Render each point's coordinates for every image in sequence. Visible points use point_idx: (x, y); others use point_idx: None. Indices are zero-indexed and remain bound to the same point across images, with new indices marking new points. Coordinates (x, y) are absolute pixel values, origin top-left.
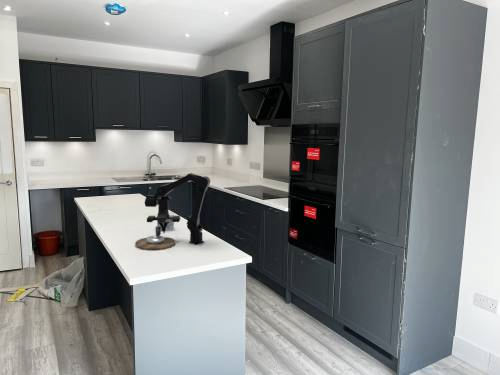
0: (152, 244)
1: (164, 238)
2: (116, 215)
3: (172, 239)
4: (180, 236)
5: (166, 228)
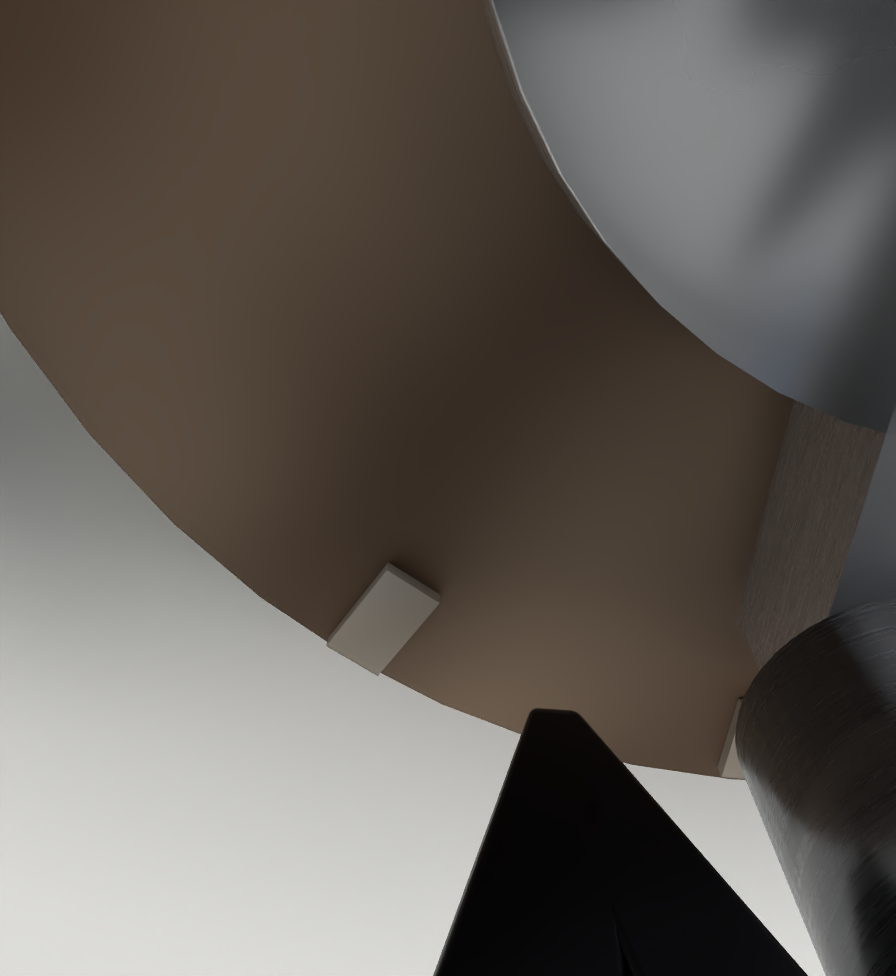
0: None
1: (510, 528)
2: None
3: (88, 347)
4: (29, 939)
5: None
